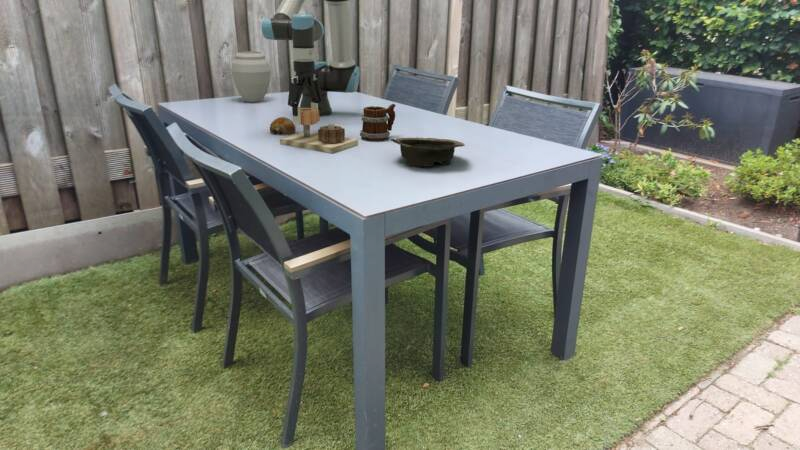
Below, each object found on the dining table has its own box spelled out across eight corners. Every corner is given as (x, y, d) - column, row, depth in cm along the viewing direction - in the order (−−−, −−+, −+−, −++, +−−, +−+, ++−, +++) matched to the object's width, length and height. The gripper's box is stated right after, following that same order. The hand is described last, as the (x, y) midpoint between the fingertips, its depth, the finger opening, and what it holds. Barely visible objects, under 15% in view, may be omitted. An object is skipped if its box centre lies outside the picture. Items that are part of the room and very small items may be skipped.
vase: (227, 103, 284) (222, 53, 275) (243, 97, 302) (239, 50, 293) (264, 105, 281) (260, 54, 272) (278, 99, 299) (275, 51, 290)
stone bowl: (410, 174, 177) (410, 145, 174) (381, 160, 199) (380, 134, 196) (478, 166, 186) (478, 138, 183) (443, 153, 208) (443, 128, 205)
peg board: (280, 143, 209) (278, 122, 206) (307, 136, 222) (306, 115, 219) (332, 153, 198) (331, 131, 195) (357, 144, 211) (357, 123, 208)
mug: (352, 136, 223) (357, 98, 218) (382, 138, 231) (388, 101, 227) (366, 142, 214) (373, 102, 209) (397, 144, 222) (404, 106, 218)
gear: (308, 126, 204) (307, 112, 202) (287, 123, 209) (287, 110, 207) (324, 122, 212) (324, 109, 210) (304, 119, 216) (303, 106, 214)
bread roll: (297, 142, 228) (303, 123, 227) (277, 135, 220) (284, 115, 219) (282, 138, 234) (288, 119, 234) (262, 130, 226) (268, 111, 226)
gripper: (291, 63, 191) (294, 128, 199) (331, 58, 209) (332, 119, 217) (274, 61, 195) (278, 126, 203) (315, 57, 213) (316, 116, 221)
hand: (306, 122), depth 210 cm, fingers closed on gear, 10 cm apart
